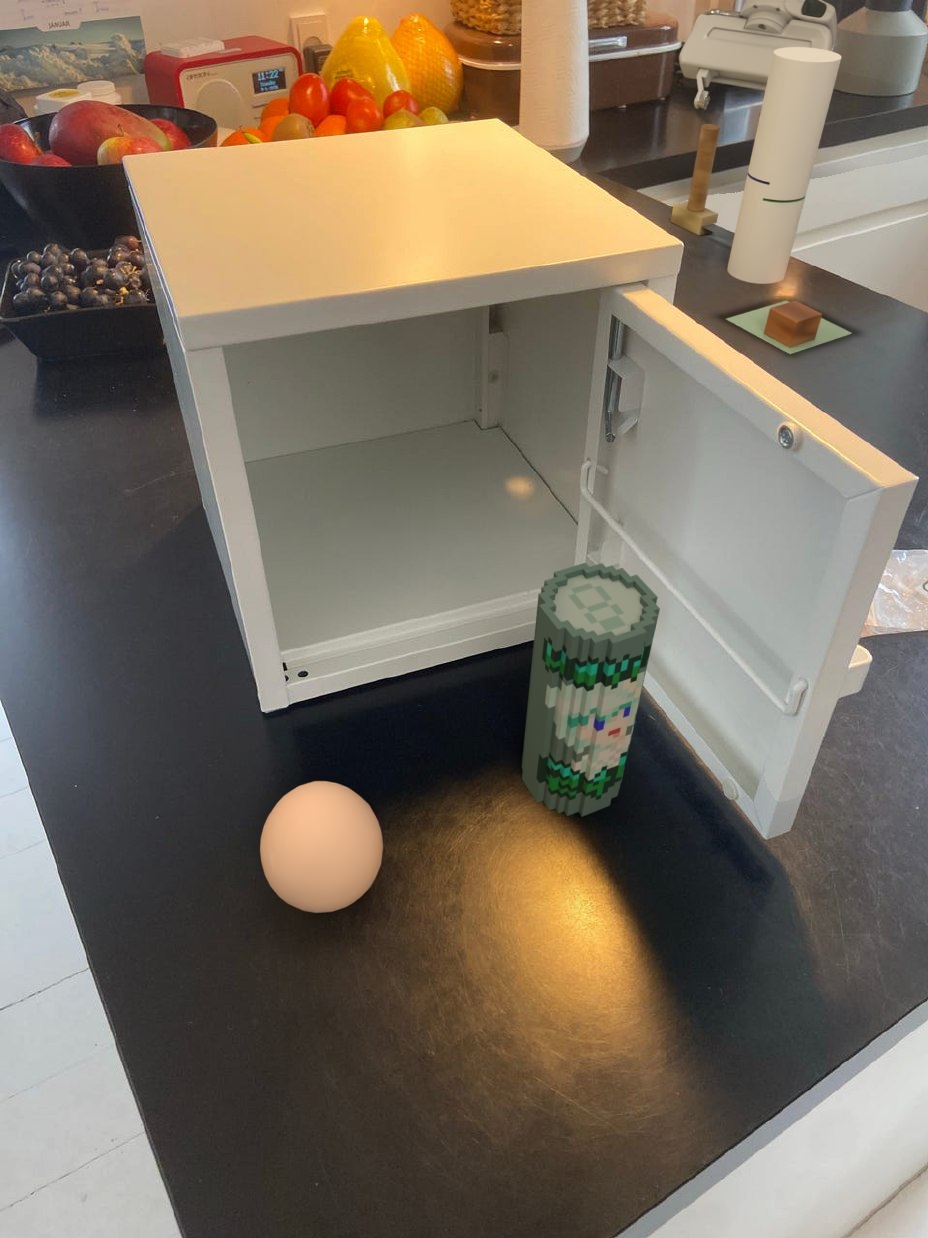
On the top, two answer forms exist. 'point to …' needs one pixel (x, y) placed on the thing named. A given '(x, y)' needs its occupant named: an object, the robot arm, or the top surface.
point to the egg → (321, 847)
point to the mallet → (699, 186)
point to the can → (585, 685)
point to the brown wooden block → (792, 323)
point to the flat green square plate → (756, 326)
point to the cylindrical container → (782, 161)
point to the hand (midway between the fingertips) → (731, 112)
